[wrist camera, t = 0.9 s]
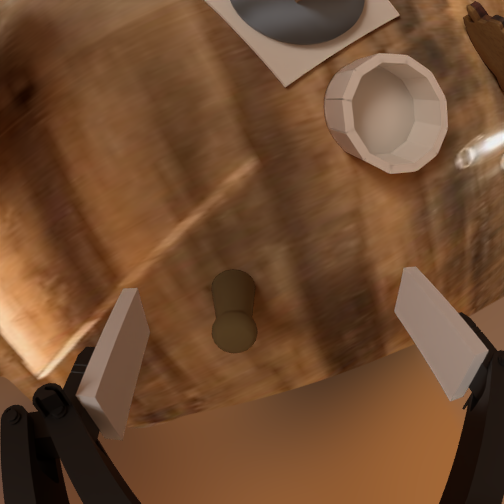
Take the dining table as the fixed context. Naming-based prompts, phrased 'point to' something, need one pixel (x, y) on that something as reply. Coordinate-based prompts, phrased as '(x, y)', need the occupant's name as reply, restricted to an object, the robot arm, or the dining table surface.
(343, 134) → the bowl
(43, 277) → the dining table surface
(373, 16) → the mat
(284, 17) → the lid
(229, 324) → the cork
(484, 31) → the wooden carving
